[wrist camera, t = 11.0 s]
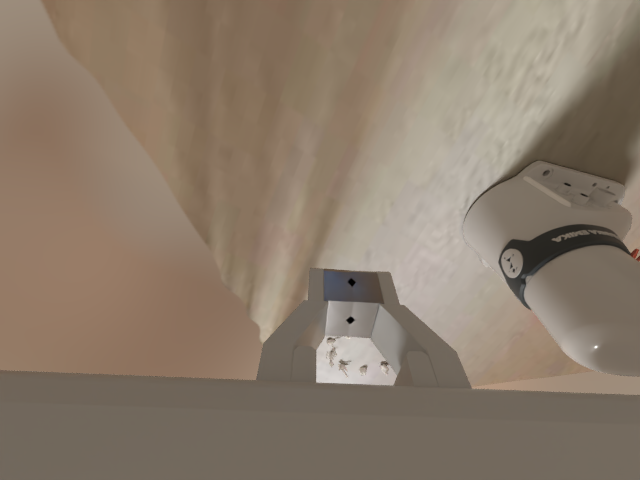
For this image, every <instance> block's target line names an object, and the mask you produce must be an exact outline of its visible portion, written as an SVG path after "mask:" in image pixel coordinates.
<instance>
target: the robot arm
mask: <svg viewBox="0 0 640 480" xmlns="http://www.w3.org/2000/svg"><path fill="white" fill-rule="evenodd" d="M545 171H546V172H545ZM544 172H545V173H544ZM543 173H544V174H543ZM624 195H625V186H624V185H622V184H621V183H619V182H616V181H613V180H609V179H606V178H602V177H598V176H595V175H591V174H588V173H584V172H580V171H577V170H573V169H569V168H566V167H562V166H559V165H555V164H551V163H548V162H544V161H536V162H534V163H532V164H530V165H529V166H528V167H526V168H525V169H524V170H523V171H521V172H520V173H519V174H518V175H517V176H515V177H513V178H511V179H509V180H507V181H505V182H503V183H500V184H498V185H497V186H495V187H493V188H492V189H490V190H489V191H487V192H486V193H485V194H483V195H482V196H481V197H480V198H479V199H478V200H477V201H476V202H475V203H474V205H473V206H472V207H471V209H470V210H469V212H468V214H467V216H466V218H465V221H464V225H463V236H464V239H465V241H466V243H467V244H468V245H469V246H470V247H471V248H472V249H473V250H474V251H476V252H477V253H478V255H479V258H480V261H481V262H482V263H483V264H484V265H485V266H486V267H491V268H492V269H493V271H494V272H495V273H496V274H497V275H498V276H499V277H500V278H501V279H502V280H503V281H504V282H505V283H506V284H507V285H508V286H509V287H510V289H511V290H512V291H513V293H514V294H515V296H516V298H517V299H518V300H519V301H520V302H522V304H523V305H524V306H525V307H526V308H528V309H530V310H532V311H533V312H534V314H535V315H536V316H537V318H538V319H539V320H540V321H541V323H542V324H543V325H544V327H545V328H546V329H547V331H548V332H549V333H550V335H551V336H552V337H553V339H554V340H555V341H556V342H557V344H558V345H559V346H560V348H561V349H562V350H563V351H564V353H565V354H567V355H568V356H569V357H570V358H571V359H573V360H574V361H576V362H577V363H579V364H581V365H583V366H585V367H587V368H589V369H592V370H595V371H598V372H603V373H607V374H613V375H621V376H622V375H623V376H637V377H639V376H640V262H639V261H640V256H639V257H638V258H637V259H635V258H636V256H637V253H638V251H639V250H638V249H635V250H634V251H633V252H632V253H631V254H630V252H629V250H628V249H627V247H626V246H625V245H624V243H623V242H622V241H623V240H624V238H625V237H626V235H627V233H628V232H629V229H630V227H631V224H632V215H631V213H630V212H629V211H628V210H627V209H625V208H624V207H622V206H621V204H622V201H623V198H624ZM324 336H348V337H362V338H371V341H372V342H373V343H374V345H375V346H376V347H377V349H378V350H379V351H380V353H381V354H382V355H383V357H384V358H385V360H386V361H387V362H388V364H389V365H390V366H391V368H392V369H393V370H394V372H395V373H396V374H397V378H396V380H395V383H394V385H393V386H389V385H363V384H337V383H316V350H317V348H318V347H319V345H320V343H321V342H322V340H323V339H324ZM0 480H640V395H621V394H596V393H570V392H544V391H542V392H541V391H518V390H492V389H472V388H471V385H470V383H469V381H468V378H467V376H466V373H465V371H464V369H463V366H462V364H461V362H460V359H459V357H458V355H457V352H456V351H455V350H454V349H452V348H451V347H450V346H449V345H448V344H447V343H446V342H445V341H443V340H442V339H441V338H440V337H439V336H438V335H437V334H436V333H435V332H433V331H432V330H431V329H430V328H429V327H428V326H427V325H426V324H425V323H423V322H422V321H421V320H420V319H419V318H418V317H417V316H416V315H414V314H413V313H412V312H411V311H410V310H409V309H408V308H407V307H406V306H404V305H400V303H399V300H398V297H397V293H396V290H395V286H394V283H393V280H392V276H391V273H390V272H371V271H349V270H335V269H324V270H323V269H318V268H310V271H309V289H308V300H304V301H303V302H302V303H301V304H300V305H299V306H298V307H297V308H296V309H295V310H294V311H293V312H292V313H291V315H290V316H289V317H288V318H287V319H286V320H285V321H284V322H283V323H282V324H281V325H280V326H279V327H278V328H277V329H276V331H275V332H274V333H273V334H272V335H271V336H270V337H269V338H268V339H267V340H266V341H265V342H264V343H263V348H262V353H261V358H260V363H259V369H258V374H257V379H256V380H236V379H235V380H234V379H210V378H186V377H185V378H184V377H160V376H159V377H158V376H134V375H133V376H132V375H108V374H83V373H56V372H32V371H7V370H0Z"/></svg>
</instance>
